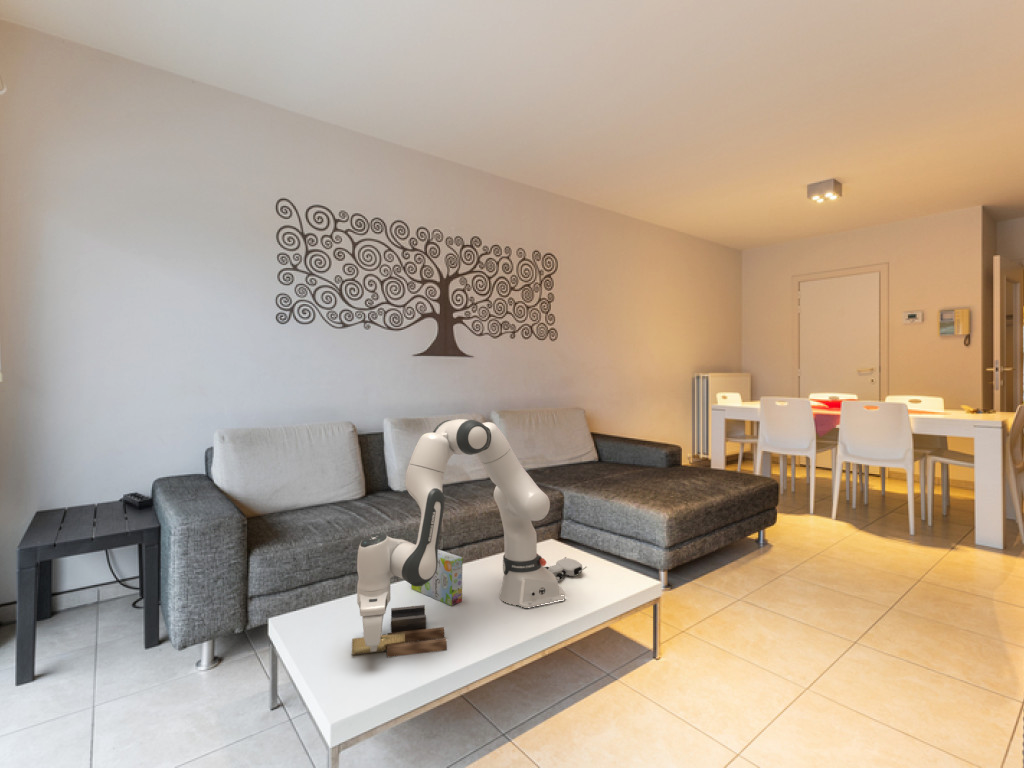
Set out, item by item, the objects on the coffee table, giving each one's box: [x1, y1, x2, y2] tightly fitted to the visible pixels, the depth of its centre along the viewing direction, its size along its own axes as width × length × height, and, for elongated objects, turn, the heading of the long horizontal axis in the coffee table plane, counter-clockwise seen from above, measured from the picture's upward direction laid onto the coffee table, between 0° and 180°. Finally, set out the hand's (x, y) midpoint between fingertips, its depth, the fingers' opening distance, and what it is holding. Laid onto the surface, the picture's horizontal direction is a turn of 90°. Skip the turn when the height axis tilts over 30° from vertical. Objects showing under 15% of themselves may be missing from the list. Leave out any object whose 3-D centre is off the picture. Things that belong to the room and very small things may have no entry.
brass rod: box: [351, 633, 405, 656], centre depth 140 cm, size 14×4×4 cm, turn 104°
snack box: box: [410, 549, 464, 606], centre depth 175 cm, size 21×6×15 cm, turn 50°
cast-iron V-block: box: [390, 604, 427, 633], centre depth 151 cm, size 10×8×5 cm
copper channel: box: [386, 626, 448, 658], centre depth 142 cm, size 16×8×2 cm, turn 103°
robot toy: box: [544, 556, 588, 581], centre depth 192 cm, size 12×4×15 cm
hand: (374, 645), depth 140 cm, fingers closed on brass rod, 4 cm apart
